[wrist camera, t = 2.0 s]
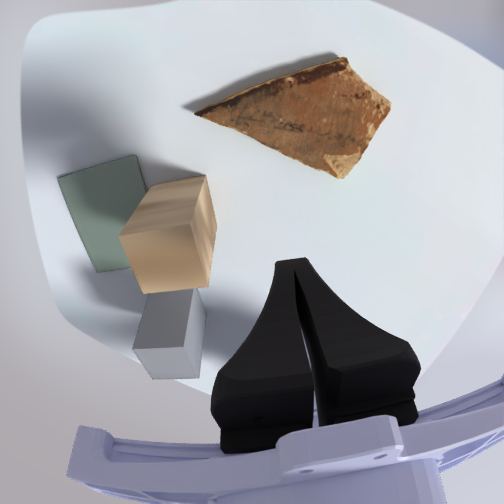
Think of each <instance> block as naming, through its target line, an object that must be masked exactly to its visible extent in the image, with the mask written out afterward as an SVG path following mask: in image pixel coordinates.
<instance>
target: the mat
mask: <svg viewBox="0 0 504 504" xmlns="http://www.w3.org/2000/svg"><path fill="white" fill-rule="evenodd" d="M58 182H59V184H60V187H61V190H62V193H63V195H64V198H65V200H66V203H67V206H68V208H69V211H70V213H71V215H72V218H73V220H74V223H75V225H76V227H77V230H78V232H79V234H80V237H81V239H82V241H83V243H84V246H85V248H86V250H87V252H88V254H89V256H90V259H91V261H92V263H93V265H94V267H95V269H96V271H97V273H98V272H105V271H112V270H120V269H127V268H131V266H130V263H129V261H128V259H127V256H126V254H125V251H124V249H123V247H122V244H121V242H120V239H119V237H118V236H119V234H120V233H121V231H122V230H123V228H124V226H125V225H126V223H127V222H128V220H129V219H130V217H131V215H132V214H133V212H134V211H135V209H136V208H137V206H138V205H139V203H140V202H141V200H142V199H143V198H144V196H145V195H146V193H147V191H146V187H145V184H144V181H143V177H142V174H141V171H140V167H139V164H138V160H137V156H136V155H133V156H129V157H126V158H122V159H118V160H115V161H111V162H108V163H104V164H101V165H97V166H94V167H91V168H88V169H84V170H81V171H78V172H75V173H72V174H69V175H66V176H63V177H60V178H58Z"/></svg>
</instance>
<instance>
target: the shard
mask: <svg viewBox="0 0 504 504" xmlns="http://www.w3.org/2000/svg"><path fill="white" fill-rule="evenodd" d="M390 110H391V102H390V101H389V100H388V99H386V98H385V97H384V96H382V95H381V94H379V93H378V92H377V91H375V90H374V89H373V88H372V87H370V86H369V85H368V84H367V83H365V82H364V81H363V80H362V79H361V78H360V76H359V75H358V74H356V72H355V71H354V70H353V69H352V68H351V67H350V65H349V62H348V60H347V58H345V57H341V58H338V59H336V60H334V61H330V62H328V63H324V64H320V65H316V66H313V67H309V68H306V69H303V70H301V71H299V72H296V73H293V74H288V75H286V76H283V77H279V78H276V79H270V80H269V81H267V82H265V83H262V84H259V85H256V86H254V87H251V88H248V89H246V90H244V91H242V92H240V93H237V94H235V95H233V96H231V97H229V98H227V99H225V100H224V101H223V102H220V103H218V104H215V105H209V106H207V107H205V108H203V109H201V110H199V111H197V112H196V113H194V114H195V115H196V116H200V117H202V118H204V119H208V120H210V121H212V122H215V123H217V124H219V125H222V126H225V127H229V128H233V129H235V130H236V131H239V132H241V133H243V134H246V135H248V136H250V137H252V138H254V139H256V140H257V141H258V142H260V143H262V144H264V145H266V146H268V147H270V148H272V149H275V150H277V151H279V152H281V153H282V154H284V155H286V156H288V157H290V158H292V159H294V160H298V161H300V162H302V163H303V164H304V165H308V166H310V167H312V168H314V169H316V170H318V171H320V170H323V171H326V172H327V173H329V174H331V175H332V176H334V177H336V178H338V179H344V178H345V176H347V175H348V174H349V172H350V171H351V169H352V168H353V167H354V166H355V165H356V164H357V163H358V162H359V160H360V159H361V157H362V155H363V153H364V151H365V150H366V149H367V147H368V145H369V142H370V141H371V139H372V138H373V136H374V135H375V133H376V131H377V130H378V128H379V126H380V124H381V123H382V122H383V121H384V119H385V118H386V117H387V115H388V114H389V112H390Z"/></svg>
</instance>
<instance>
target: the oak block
mask: <svg viewBox="0 0 504 504" xmlns="http://www.w3.org/2000/svg"><path fill="white" fill-rule="evenodd" d="M216 230H217V222H216V218H215V213H214V209H213V205H212V200H211V196H210V191H209V187H208V182H207V178H206V175H203V176H197V177H192V178H186V179H181V180H176V181H171V182H166V183H161V184H156V185H152V186H151V187H150V189H149V190H148V192H147V193H146V195H145V196H144V198H143V199H142V200H141V202H140V203H139V205H138V206H137V208H136V209H135V211H134V212H133V214H132V215H131V217H130V219H129V220H128V222H127V223H126V225H125V226H124V228H123V230H122V231H121V233H120V234H119V236H118V237H119V239H120V242H121V244H122V247H123V249H124V251H125V254H126V256H127V259H128V261H129V263H130V266H131V268H132V270H133V272H134V275H135V277H136V279H137V281H138V284H139V286H140V288H141V290H142V292H143V294H147V293H157V292H166V291H175V290H184V289H193V288H202V287H208V286H209V278H210V271H211V264H212V257H213V250H214V243H215V237H216Z"/></svg>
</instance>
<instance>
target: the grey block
mask: <svg viewBox="0 0 504 504" xmlns="http://www.w3.org/2000/svg"><path fill="white" fill-rule="evenodd" d="M205 322H206V313H205V310H204V307H203V304H202V301H201V298H200V295H199V292H198V289H197V288H193V289H184V290H175V291H166V292H157V293H150V294H149V297H148V300H147V303H146V306H145V309H144V312H143V315H142V319H141V322H140V325H139V328H138V331H137V335H136V338H135V341H134V344H133V348H132V350H133V351H134V353H135V354H136V356H137V357H138V359H139V360H140V362H141V363H142V365H143V366H144V368H145V369H146V371H147V372H148V374H149V375H150V377H151V378H152V379H193V378H199V376H200V367H201V357H202V348H203V339H204V331H205Z"/></svg>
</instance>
